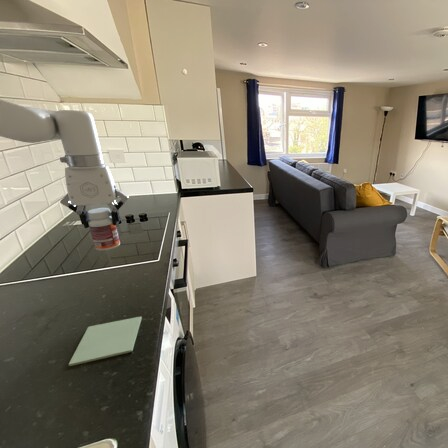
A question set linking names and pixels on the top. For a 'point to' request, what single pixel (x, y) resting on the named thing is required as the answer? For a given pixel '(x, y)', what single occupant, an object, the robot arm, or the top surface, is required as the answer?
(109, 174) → the robot arm
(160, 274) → the top surface
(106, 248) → the pill bottle
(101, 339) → the mat
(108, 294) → the top surface
